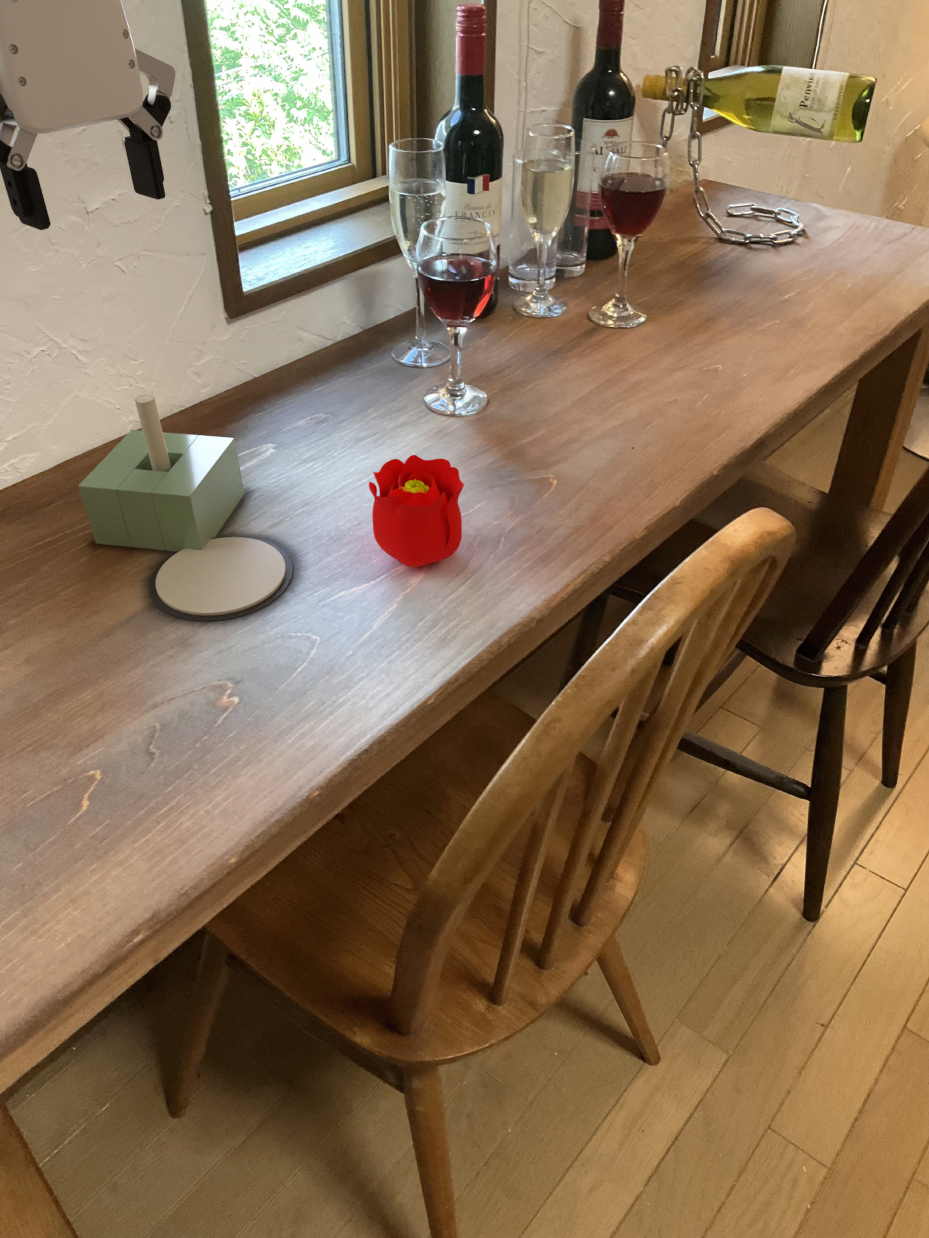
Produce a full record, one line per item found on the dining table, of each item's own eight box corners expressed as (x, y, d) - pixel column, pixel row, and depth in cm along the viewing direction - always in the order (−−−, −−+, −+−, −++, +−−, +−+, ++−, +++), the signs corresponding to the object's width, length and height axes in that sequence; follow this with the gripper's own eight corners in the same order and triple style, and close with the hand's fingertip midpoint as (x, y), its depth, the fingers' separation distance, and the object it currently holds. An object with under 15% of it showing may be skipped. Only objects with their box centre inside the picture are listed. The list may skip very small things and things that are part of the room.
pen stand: (95, 544, 86) (77, 485, 82) (145, 485, 93) (131, 429, 90) (203, 554, 84) (189, 496, 80) (245, 494, 92) (234, 438, 88)
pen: (155, 523, 88) (124, 403, 80) (167, 509, 90) (137, 391, 82) (180, 526, 88) (151, 405, 80) (191, 512, 89) (163, 392, 82)
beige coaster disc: (124, 613, 78) (122, 609, 77) (184, 532, 87) (183, 527, 86) (265, 629, 76) (264, 624, 76) (311, 544, 85) (310, 539, 85)
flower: (393, 525, 87) (387, 446, 82) (475, 536, 86) (475, 457, 81) (364, 575, 81) (356, 494, 76) (452, 587, 80) (450, 506, 75)
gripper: (112, -81, 68) (162, 178, 78) (-139, -68, 57) (-42, 228, 68) (176, -79, 64) (220, 194, 74) (-80, -64, 54) (13, 250, 64)
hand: (95, 210), depth 71 cm, fingers open, 9 cm apart
